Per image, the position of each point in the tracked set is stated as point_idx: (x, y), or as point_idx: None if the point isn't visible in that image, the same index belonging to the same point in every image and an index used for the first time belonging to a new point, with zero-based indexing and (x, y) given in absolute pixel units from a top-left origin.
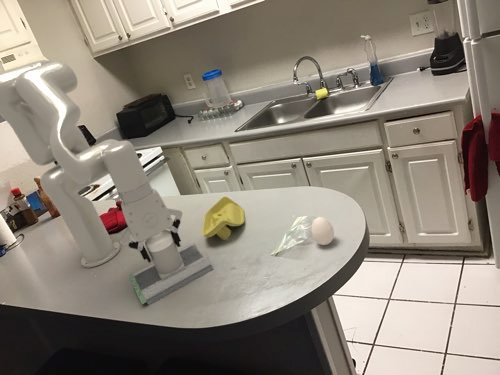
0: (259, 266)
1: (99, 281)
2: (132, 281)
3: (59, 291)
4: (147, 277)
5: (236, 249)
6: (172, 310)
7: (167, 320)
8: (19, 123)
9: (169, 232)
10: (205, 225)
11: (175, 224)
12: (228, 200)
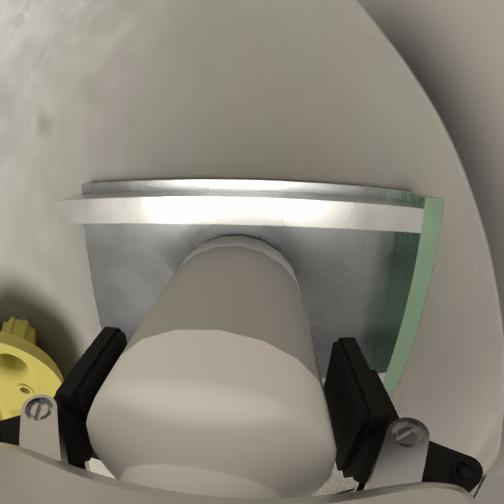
0: (5, 73)
1: None
2: (408, 342)
3: (462, 449)
4: None
5: (9, 232)
6: (329, 59)
7: (361, 29)
8: None
9: (90, 438)
10: None
11: (11, 443)
12: None
